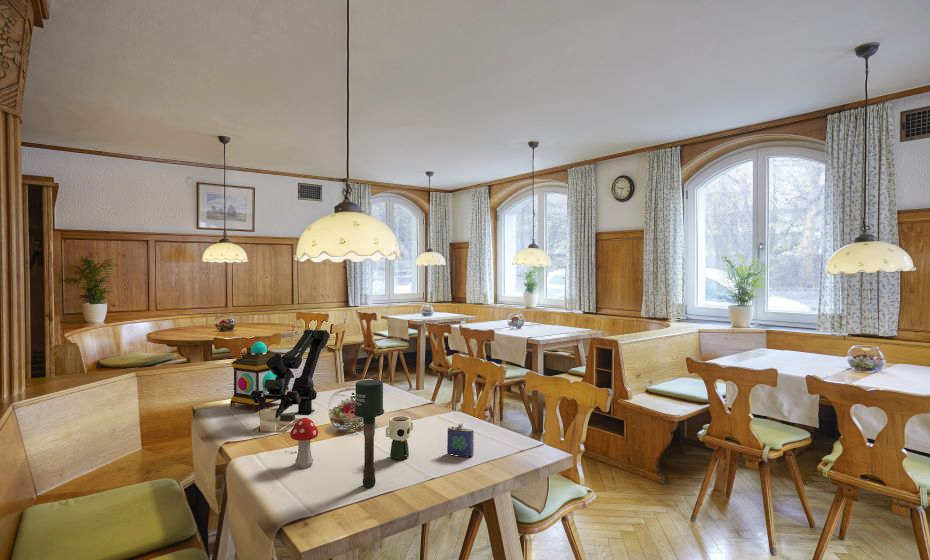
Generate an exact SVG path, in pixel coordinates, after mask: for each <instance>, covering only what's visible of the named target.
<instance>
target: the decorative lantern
mask: <svg viewBox="0 0 930 560" xmlns="http://www.w3.org/2000/svg"><path fill="white" fill-rule="evenodd" d="M273 356H275V354H273V352H271V351H270V350H268V348H267V345H266V344H265V343H264V342H263V341H256V342H255V343H253V344H252V345H251V348H250V351H248V352H247V353H246V354H244V355H243V356H241V357H237V358H236V359H235V360H233V361H232V362H231V363H230V364H231V366H232V367H233V394H232V395H233V396H232V397H231V399H230V408H231V409H234V408H235V406H236V404H240V405H247V406H252V407H254V409H255V413H258V412H259V403H254V401H253V400H252V399H251V397H250V394H251V392H252V391H254V390H259V391H263V393H264V394H269V392H267V388H264V385H265V380H275V378H276V375H274V374H273V373H272V372H271V370H270V369H269V368H268V366H267V365H266V363H267V360H269V359H270V358H271V357H273ZM277 401H278V400H272V399H267V400H266V402H267V404H271V403H273V402H277Z"/></svg>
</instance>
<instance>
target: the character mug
mask: <svg viewBox="0 0 930 560" xmlns="http://www.w3.org/2000/svg"><path fill="white" fill-rule="evenodd" d="M413 430H414V421H413V420H411V417H410V416H406V415H396V416H392V417H391V416H390V418H389V420H388V426H386V427H385V437H386V438H389V439H390V440H392V441H391V445H390V446H391V447H390V453H389V456H390V457H391V458H393V459H394V460H404V459H405V458H409V456H410V451H409V444H408V440H409V438H410V436H411V432H412V431H413Z"/></svg>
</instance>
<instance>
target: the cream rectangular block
mask: <svg viewBox="0 0 930 560" xmlns="http://www.w3.org/2000/svg"><path fill="white" fill-rule="evenodd" d="M278 408H279V407H267V408H264V409H262V410H260V416H259V425H260V431H262V432H261V433H275V432H276V431H277V430H279V429H281V428H280V416H279V417H278V418H276V417H275V416H276V413H277V410H278Z"/></svg>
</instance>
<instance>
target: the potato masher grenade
mask: <svg viewBox="0 0 930 560" xmlns="http://www.w3.org/2000/svg"><path fill="white" fill-rule="evenodd" d="M354 397H355V405H354V407H355V409H354V411H353V414H354V416H356V417H359V418H362V419H363V438H364V450H363V451H364V455H363V456H364V461H363V462H364V466H363V472H362V476H363V477H362V485H363V487H364V488H366V489H367V488H369V489H370V488H373V487H375V485H376V480H377V479H376V469H375V466H374V465H375V462H374V461H375V435H376V433H375V432H376V430H375V429H376V427H375V426H376V417H379V416H382V415H384V414H385V409H384V382H383V381H382V380H381V379H380V380H379V379H363V380H360V381H357V382H355V395H354Z"/></svg>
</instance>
